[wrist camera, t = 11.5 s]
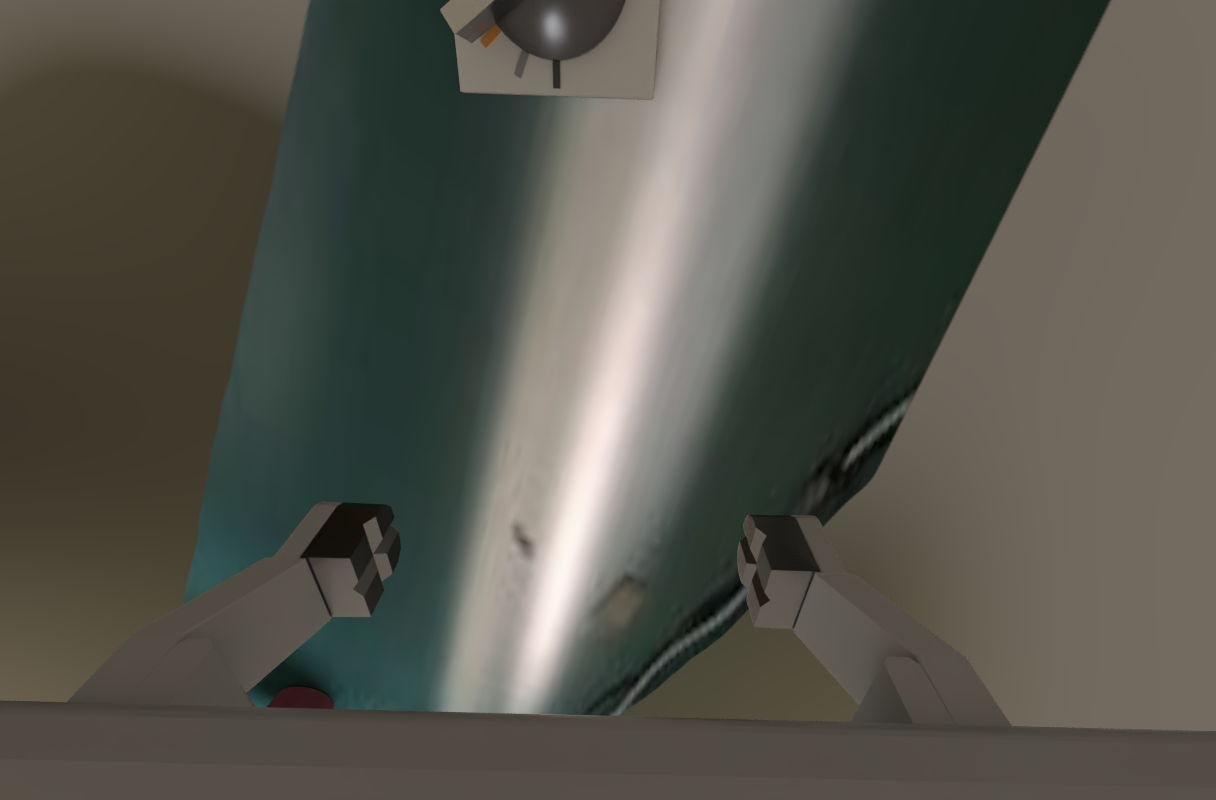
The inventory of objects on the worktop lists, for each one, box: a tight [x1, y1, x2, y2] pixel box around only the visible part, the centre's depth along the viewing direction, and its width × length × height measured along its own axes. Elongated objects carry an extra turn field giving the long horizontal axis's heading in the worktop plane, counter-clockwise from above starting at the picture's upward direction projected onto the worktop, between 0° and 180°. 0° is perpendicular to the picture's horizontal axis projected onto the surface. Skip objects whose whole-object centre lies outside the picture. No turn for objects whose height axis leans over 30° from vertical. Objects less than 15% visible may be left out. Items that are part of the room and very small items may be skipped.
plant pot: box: [267, 687, 334, 709], centre depth 73 cm, size 14×14×13 cm
